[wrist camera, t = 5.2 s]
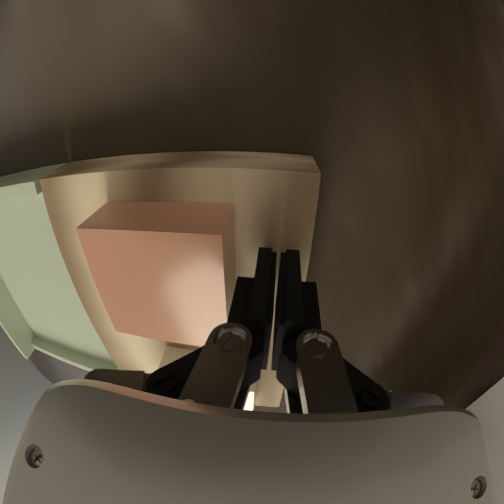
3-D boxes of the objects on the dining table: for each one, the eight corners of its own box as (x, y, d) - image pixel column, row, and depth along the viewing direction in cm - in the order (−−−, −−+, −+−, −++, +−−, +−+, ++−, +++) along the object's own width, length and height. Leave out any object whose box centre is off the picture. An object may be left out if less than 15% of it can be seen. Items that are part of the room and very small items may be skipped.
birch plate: (312, 155, 12) (320, 173, 10) (280, 378, 22) (278, 407, 20) (71, 162, 13) (39, 179, 11) (136, 357, 24) (126, 381, 21)
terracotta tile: (234, 203, 11) (222, 235, 9) (236, 311, 14) (229, 350, 12) (107, 202, 11) (76, 228, 9) (133, 299, 14) (116, 331, 12)
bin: (68, 162, 13) (11, 195, 9) (134, 356, 24) (116, 397, 19) (-19, 182, 14) (-55, 206, 10) (43, 328, 25) (24, 357, 21)
